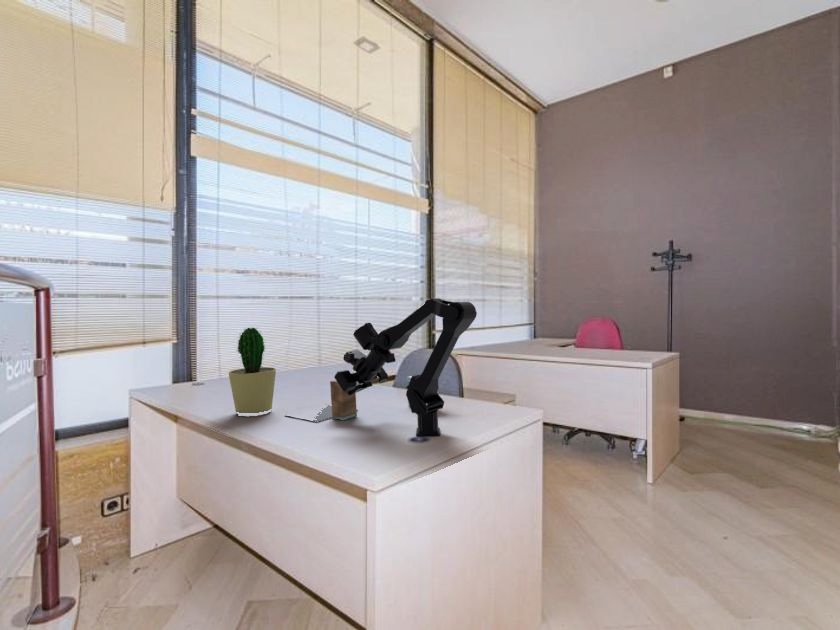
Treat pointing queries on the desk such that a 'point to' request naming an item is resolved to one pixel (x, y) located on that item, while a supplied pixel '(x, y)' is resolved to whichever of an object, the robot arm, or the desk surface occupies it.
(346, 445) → the desk surface
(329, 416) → the grey thin slab
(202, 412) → the desk surface
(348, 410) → the walnut block
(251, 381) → the potted cactus
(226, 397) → the desk surface
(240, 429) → the desk surface
